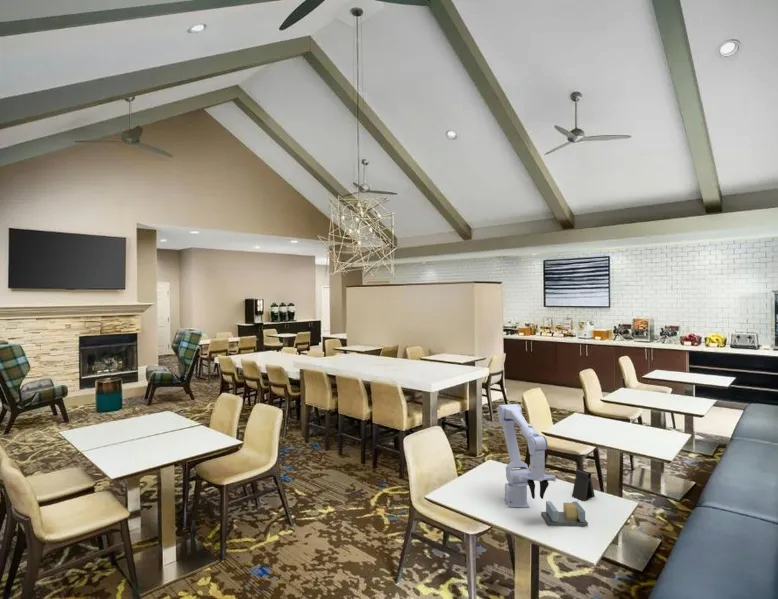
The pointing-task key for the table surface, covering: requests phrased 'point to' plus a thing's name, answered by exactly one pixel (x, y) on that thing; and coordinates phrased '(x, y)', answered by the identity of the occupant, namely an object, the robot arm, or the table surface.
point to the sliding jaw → (552, 511)
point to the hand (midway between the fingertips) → (537, 497)
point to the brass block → (570, 511)
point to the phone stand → (583, 486)
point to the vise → (563, 521)
